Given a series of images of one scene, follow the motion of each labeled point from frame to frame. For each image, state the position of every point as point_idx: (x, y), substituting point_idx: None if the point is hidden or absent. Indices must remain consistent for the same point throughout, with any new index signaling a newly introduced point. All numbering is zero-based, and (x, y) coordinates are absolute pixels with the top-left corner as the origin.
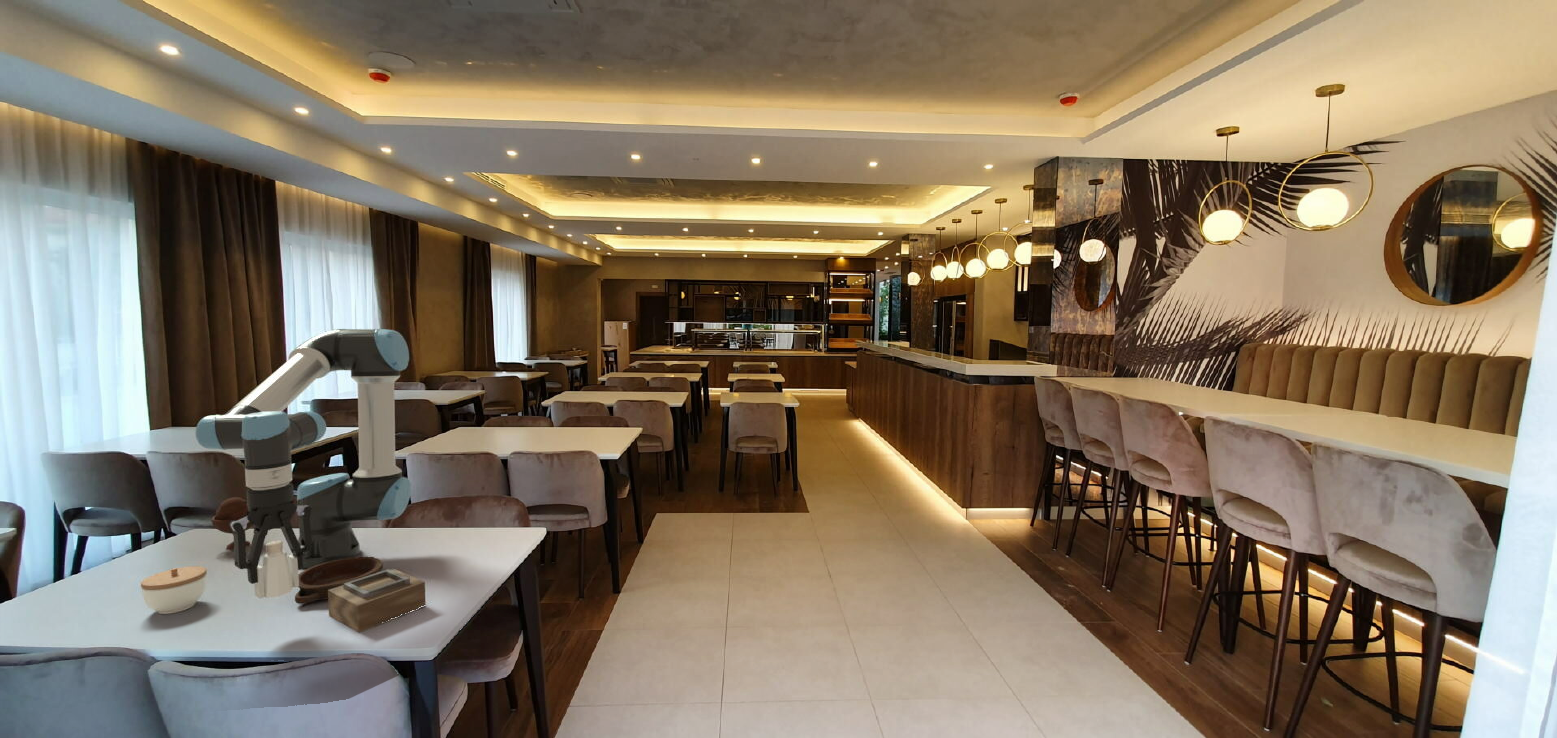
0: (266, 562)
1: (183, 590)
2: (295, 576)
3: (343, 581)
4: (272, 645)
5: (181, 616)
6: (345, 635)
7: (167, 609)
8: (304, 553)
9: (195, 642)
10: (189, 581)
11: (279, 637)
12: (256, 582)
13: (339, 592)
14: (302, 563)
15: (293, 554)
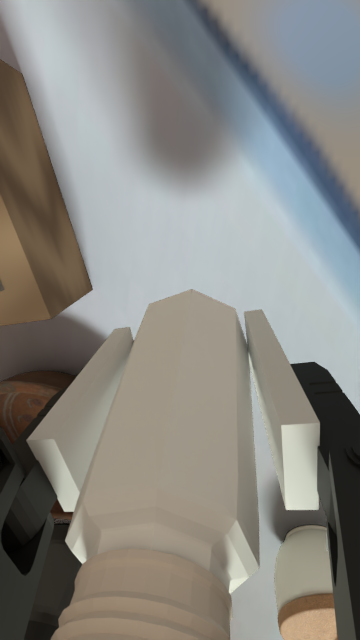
0: (243, 474)
1: (330, 574)
2: (107, 354)
3: (27, 389)
4: (233, 197)
5: (319, 505)
6: (59, 88)
7: None
8: None
9: (350, 371)
10: (324, 598)
11: (208, 243)
12: (290, 364)
13: (14, 262)
14: (42, 410)
15: (46, 498)
